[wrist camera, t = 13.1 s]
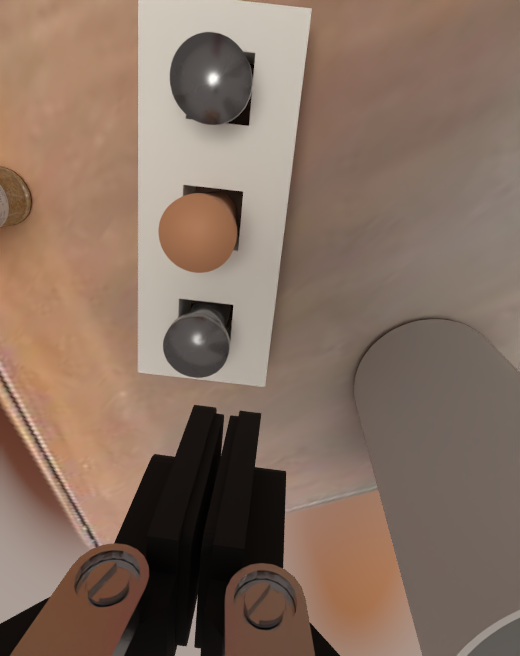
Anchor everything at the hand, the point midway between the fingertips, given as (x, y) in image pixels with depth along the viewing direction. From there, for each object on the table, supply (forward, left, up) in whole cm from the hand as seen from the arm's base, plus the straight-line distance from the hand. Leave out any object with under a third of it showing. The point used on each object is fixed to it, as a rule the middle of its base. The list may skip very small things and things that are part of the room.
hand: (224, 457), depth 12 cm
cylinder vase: (-15, +11, -28) cm, 33 cm away
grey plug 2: (+4, +6, -27) cm, 27 cm away
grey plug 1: (+4, -10, -27) cm, 28 cm away
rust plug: (+4, -2, -25) cm, 25 cm away
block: (+4, -2, -27) cm, 28 cm away
